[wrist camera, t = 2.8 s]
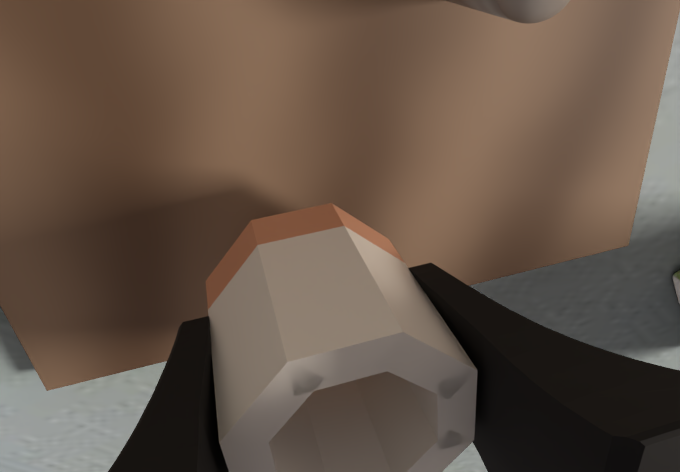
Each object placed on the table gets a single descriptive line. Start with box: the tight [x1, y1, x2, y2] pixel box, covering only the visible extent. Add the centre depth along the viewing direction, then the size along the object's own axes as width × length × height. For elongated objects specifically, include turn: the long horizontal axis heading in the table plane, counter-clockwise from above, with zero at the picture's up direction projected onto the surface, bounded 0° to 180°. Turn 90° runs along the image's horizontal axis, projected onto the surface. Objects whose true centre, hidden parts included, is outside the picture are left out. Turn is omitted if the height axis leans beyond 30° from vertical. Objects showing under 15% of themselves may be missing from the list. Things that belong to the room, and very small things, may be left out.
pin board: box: [0, 0, 680, 391], centre depth 13 cm, size 20×14×5 cm
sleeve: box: [206, 203, 478, 472], centre depth 12 cm, size 5×5×5 cm
